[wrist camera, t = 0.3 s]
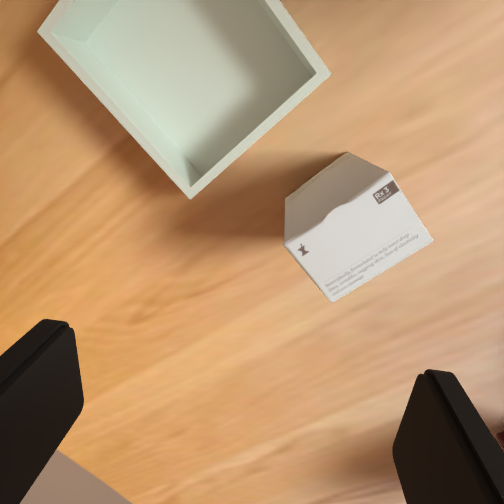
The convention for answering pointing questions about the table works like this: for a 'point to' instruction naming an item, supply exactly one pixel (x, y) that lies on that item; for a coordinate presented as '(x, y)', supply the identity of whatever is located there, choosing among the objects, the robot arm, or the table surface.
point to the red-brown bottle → (501, 438)
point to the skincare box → (350, 225)
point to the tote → (188, 73)
